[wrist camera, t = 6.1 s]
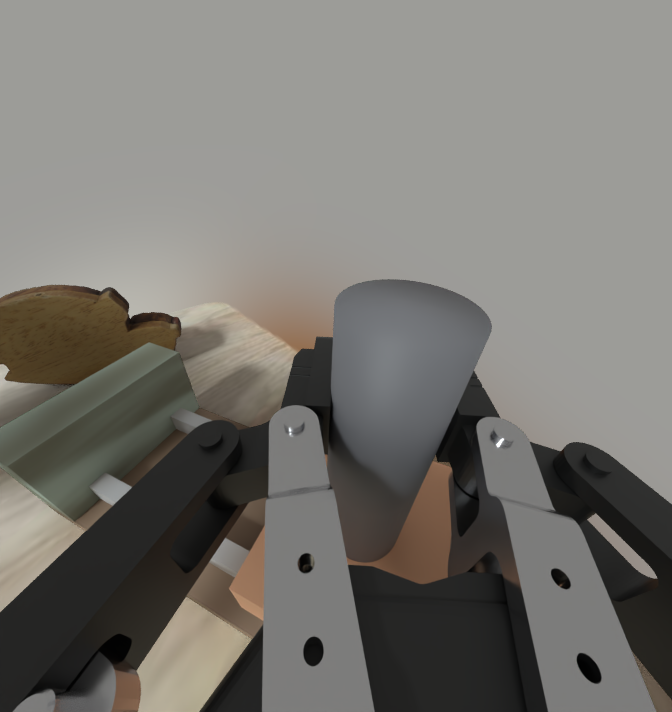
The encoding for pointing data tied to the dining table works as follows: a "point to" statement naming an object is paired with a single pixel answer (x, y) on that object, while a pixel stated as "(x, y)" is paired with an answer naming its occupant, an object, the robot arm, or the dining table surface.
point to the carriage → (391, 427)
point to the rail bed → (125, 457)
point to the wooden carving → (73, 332)
